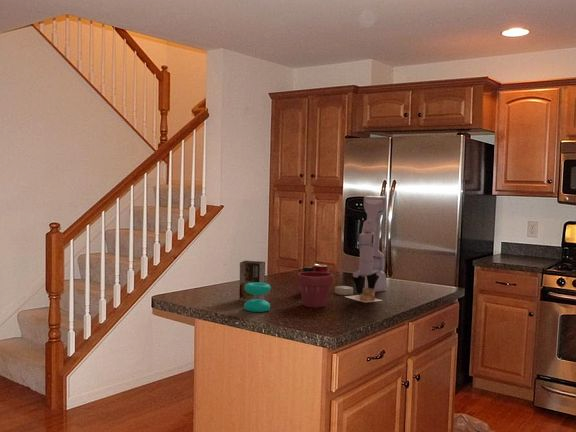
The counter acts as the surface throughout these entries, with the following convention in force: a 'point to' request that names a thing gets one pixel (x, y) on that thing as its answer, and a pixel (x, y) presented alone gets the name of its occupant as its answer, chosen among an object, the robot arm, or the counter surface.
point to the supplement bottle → (307, 269)
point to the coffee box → (251, 278)
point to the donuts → (257, 304)
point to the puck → (343, 290)
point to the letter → (357, 297)
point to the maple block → (367, 294)
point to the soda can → (320, 268)
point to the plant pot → (314, 288)
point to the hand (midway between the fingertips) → (365, 292)
